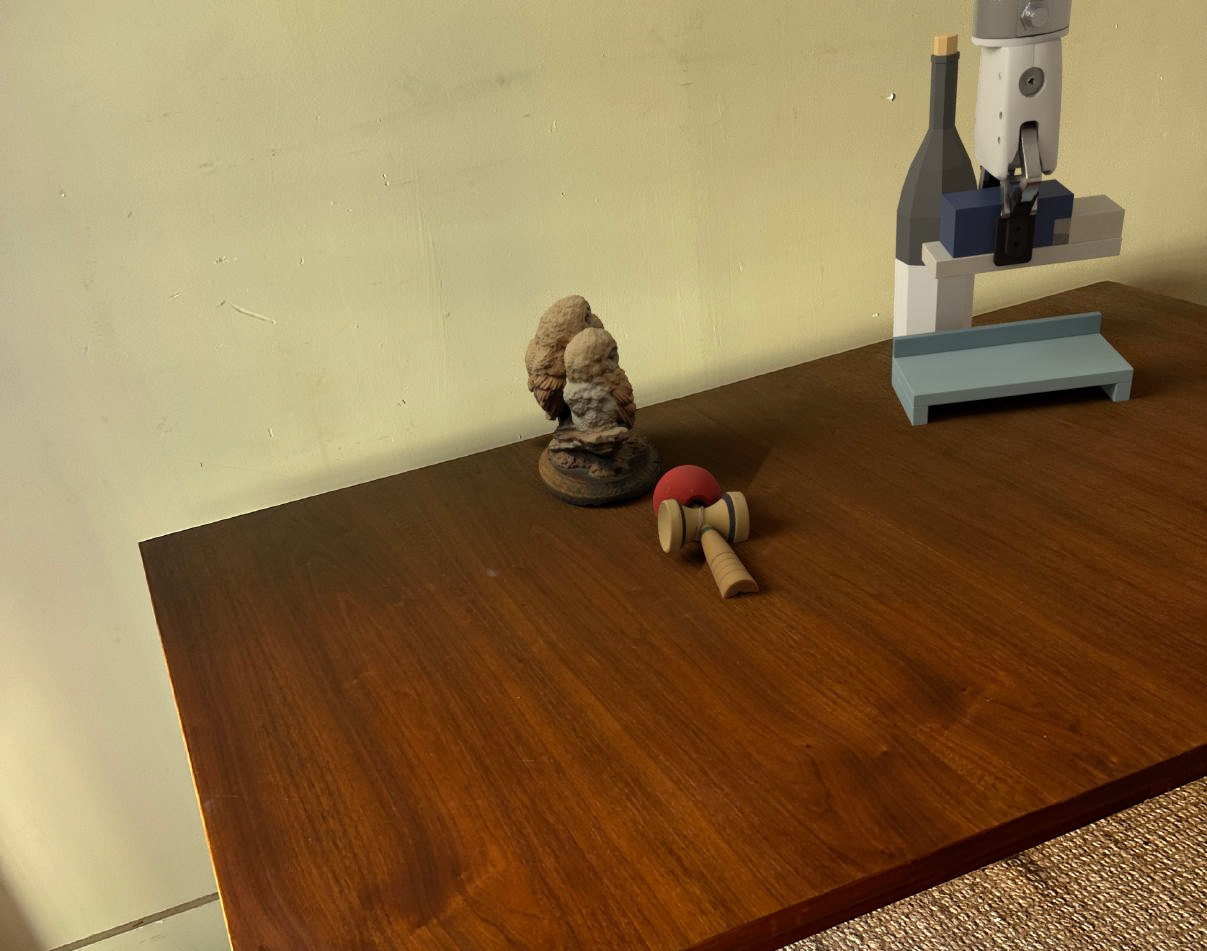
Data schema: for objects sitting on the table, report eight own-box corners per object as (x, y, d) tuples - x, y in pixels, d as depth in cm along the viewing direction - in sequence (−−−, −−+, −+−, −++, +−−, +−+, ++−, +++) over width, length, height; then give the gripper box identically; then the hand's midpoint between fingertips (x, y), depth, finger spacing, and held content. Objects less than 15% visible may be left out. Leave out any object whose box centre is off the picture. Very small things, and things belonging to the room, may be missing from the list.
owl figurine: (685, 496, 111) (669, 307, 100) (563, 524, 110) (533, 336, 99) (634, 429, 125) (614, 257, 114) (525, 453, 124) (495, 281, 113)
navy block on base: (1098, 237, 110) (1106, 171, 106) (1119, 255, 105) (1129, 187, 101) (921, 259, 111) (924, 195, 107) (935, 279, 106) (938, 212, 103)
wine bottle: (934, 378, 125) (950, 44, 107) (876, 362, 131) (883, 42, 112) (985, 354, 129) (1010, 27, 110) (927, 340, 134) (942, 25, 115)
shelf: (1090, 374, 121) (1099, 310, 117) (1126, 416, 113) (1137, 348, 109) (891, 398, 123) (892, 336, 119) (911, 441, 114) (914, 375, 110)
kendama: (797, 610, 95) (726, 494, 108) (785, 549, 91) (712, 434, 103) (707, 646, 96) (646, 525, 108) (690, 586, 91) (628, 467, 103)
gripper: (1103, 23, 89) (1073, 275, 101) (1039, -3, 103) (1019, 222, 114) (1001, 38, 90) (982, 287, 101) (950, 10, 103) (939, 233, 115)
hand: (1002, 250), depth 108 cm, fingers closed on navy block on base, 6 cm apart
